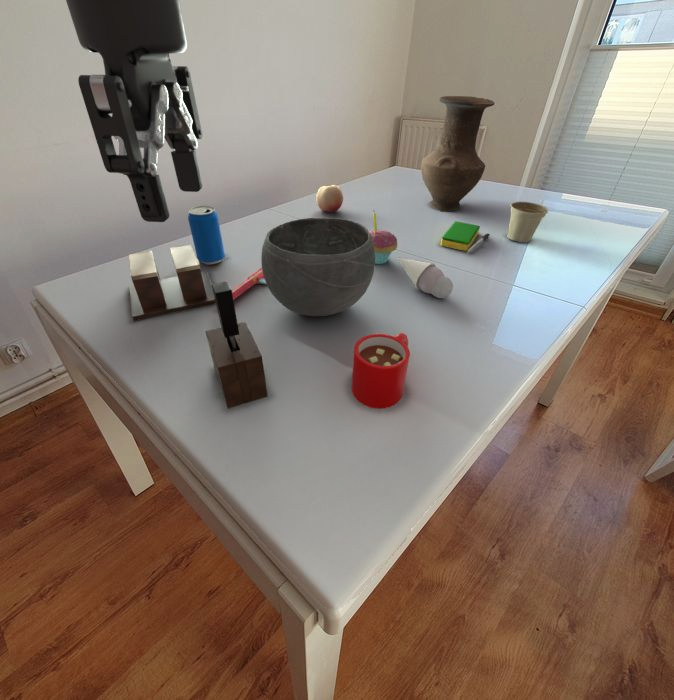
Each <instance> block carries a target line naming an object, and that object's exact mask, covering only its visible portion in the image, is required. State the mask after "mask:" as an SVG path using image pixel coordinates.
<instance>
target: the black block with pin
mask: <svg viewBox="0 0 674 700" xmlns="http://www.w3.org/2000/svg"><path fill="white" fill-rule="evenodd" d="M212 288H213V292H214V297H215V302H216V304H215V306H216V311H217V315H218V321H219V324H220V327H221V329H222V332H223V334H224V337H225V338H226V337H229V341H230V346H231V351H232V352H235V351H237V349H236V344H235V338H234V336H235V335H239V329H238V323H239V322H238V318H237V313H236V307H235V306H236V305H235V302H234V301H235V300H233V295H232V290H233V289H232V287H231V286H230V284H229V282H228V281H223V282H218V283H212Z"/></svg>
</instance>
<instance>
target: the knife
mask: <svg viewBox="0 0 674 700" xmlns="http://www.w3.org/2000/svg"><path fill="white" fill-rule="evenodd" d="M489 238H490V233H485V234H484V235H482V236H481V237H480V239H479V240H477V242H476V243H474V244H473V245H471V246H470V247H469V249H468V250H467V253H468V254H469V253H470V254H471V253H472V252H474V251H475V250H477V249H478V248H481V246H482V244H483V242H485V241H487V240H488V239H489Z"/></svg>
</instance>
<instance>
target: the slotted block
mask: <svg viewBox="0 0 674 700" xmlns="http://www.w3.org/2000/svg"><path fill="white" fill-rule="evenodd" d="M169 251H170V255H171V259H172V262H173V265H174V269H175V274H176V276H172V277H168V278H167V277H166V278H162V279H161V276H160V273H159V270H158V266H157V263H156V259H155V256H154V253H153V251H152V250H148V251H142V252H136V253H129V254H128V262H129V264H128V265H129V272H130V278H131V281H132V284H129V285H128V288H129V298H130V309H131V310H130V311H131V318H132V321H133V322H136V321H141V320H145V319H150V318H156V317H159V316H164V315H169V314H173V313H179V312H183V311H189V310H193V309H198V308H203V307H208V306H211V305H216V302H215V297H214V292H213V288H212V284H213V283H212V280H211V278H210V276H209V273H208V271H202V269H201V265H200V261H199V260H198V259H197V255H196V252H195V249H194V248H193V246H192V244H187V245H182V246H175V247H169Z"/></svg>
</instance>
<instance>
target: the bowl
mask: <svg viewBox="0 0 674 700" xmlns="http://www.w3.org/2000/svg"><path fill="white" fill-rule="evenodd" d="M369 232H370V231H369V229H368V228H367V227H366V226H364V225H362V224H360V223H359V222H355V220H350V219H346V218H337V217H308V218H299V219H294V220H290V221H288V222H284V223H282V224H279V225H277V226H276V227H273V228H272V229H270V230H269V231H268V232H267V233H266V235H265V238H264V241H263V242H262V243H263V244H262V246H261V255H260V256H261V258H260V261H261V262H260V263H261V268H262V271H263V275H264V278H265V279H264V280H265V281H266V284H267V285H266V284H265V285H266V286H267V288H268V290H269V292H270V293H271V294H272V296H273V297H274V298H275V299H276V300H277V301H278V303H280V304H281V305H282V306H284V308H286V309H287V310H289V311H291V312H293V313H296V314H298V315H302V316H307V317H327V316H332V315H335V314H339V313H341V312H344V311H346V310H348V309H350V308H352V306H354V305H355V304H356V303H357V302H358V301H359V300H361V298H362V297H363V296H364V295H365V293H366V292H367V290H368V289H369V288H370V285H371V283H372V280H373V276H374V272H375V269H376V268H375V267H376V264H375V250H374V247H373V246H374V245H373V241H372V237H371V235H370V233H369Z"/></svg>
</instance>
